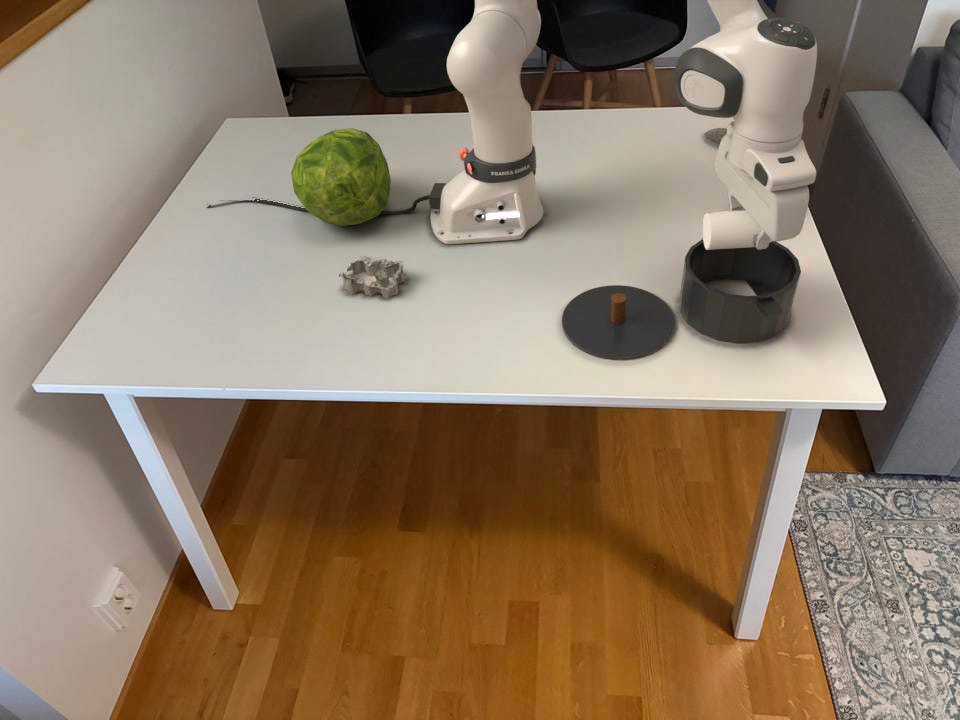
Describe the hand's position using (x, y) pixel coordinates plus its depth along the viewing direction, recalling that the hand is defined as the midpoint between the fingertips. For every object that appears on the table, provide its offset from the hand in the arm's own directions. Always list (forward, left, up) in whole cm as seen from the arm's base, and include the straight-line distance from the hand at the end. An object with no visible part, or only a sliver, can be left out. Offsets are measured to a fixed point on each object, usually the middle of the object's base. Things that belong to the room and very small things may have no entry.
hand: (747, 232), depth 112 cm
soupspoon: (+20, +47, -15) cm, 53 cm away
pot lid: (-19, +2, -15) cm, 24 cm away
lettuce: (-60, +51, -15) cm, 80 cm away
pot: (0, 0, -15) cm, 15 cm away
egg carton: (-57, +25, -15) cm, 64 cm away
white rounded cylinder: (0, 0, -2) cm, 3 cm away
